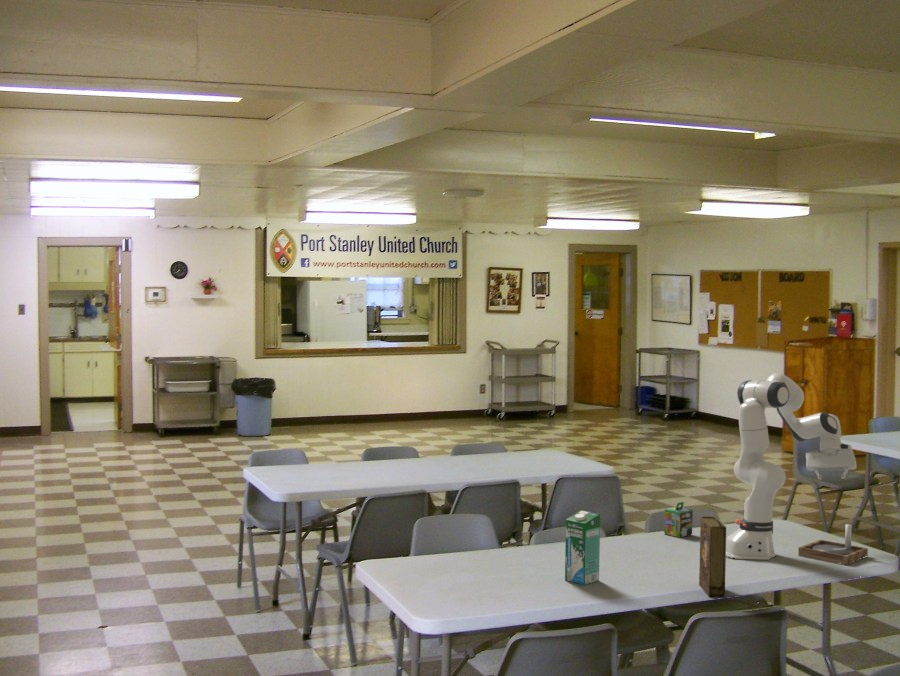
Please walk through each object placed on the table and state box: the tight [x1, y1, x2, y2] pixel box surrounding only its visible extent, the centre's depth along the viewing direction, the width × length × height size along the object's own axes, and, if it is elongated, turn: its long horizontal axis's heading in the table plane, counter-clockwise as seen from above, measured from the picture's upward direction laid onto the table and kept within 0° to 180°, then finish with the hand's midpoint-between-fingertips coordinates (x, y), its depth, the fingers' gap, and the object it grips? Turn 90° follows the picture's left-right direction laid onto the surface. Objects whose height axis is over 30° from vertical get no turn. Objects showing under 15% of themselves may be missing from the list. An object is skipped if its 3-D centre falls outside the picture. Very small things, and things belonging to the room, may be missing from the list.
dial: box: [812, 523, 854, 555], centre depth 403 cm, size 16×16×11 cm
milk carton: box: [564, 510, 601, 586], centre depth 363 cm, size 9×9×25 cm
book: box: [698, 516, 727, 597], centre depth 352 cm, size 16×6×25 cm, turn 179°
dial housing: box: [798, 539, 869, 565], centre depth 403 cm, size 20×20×4 cm
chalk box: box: [663, 501, 694, 538], centre depth 438 cm, size 9×9×15 cm
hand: (831, 478), depth 417 cm, fingers open, 8 cm apart
